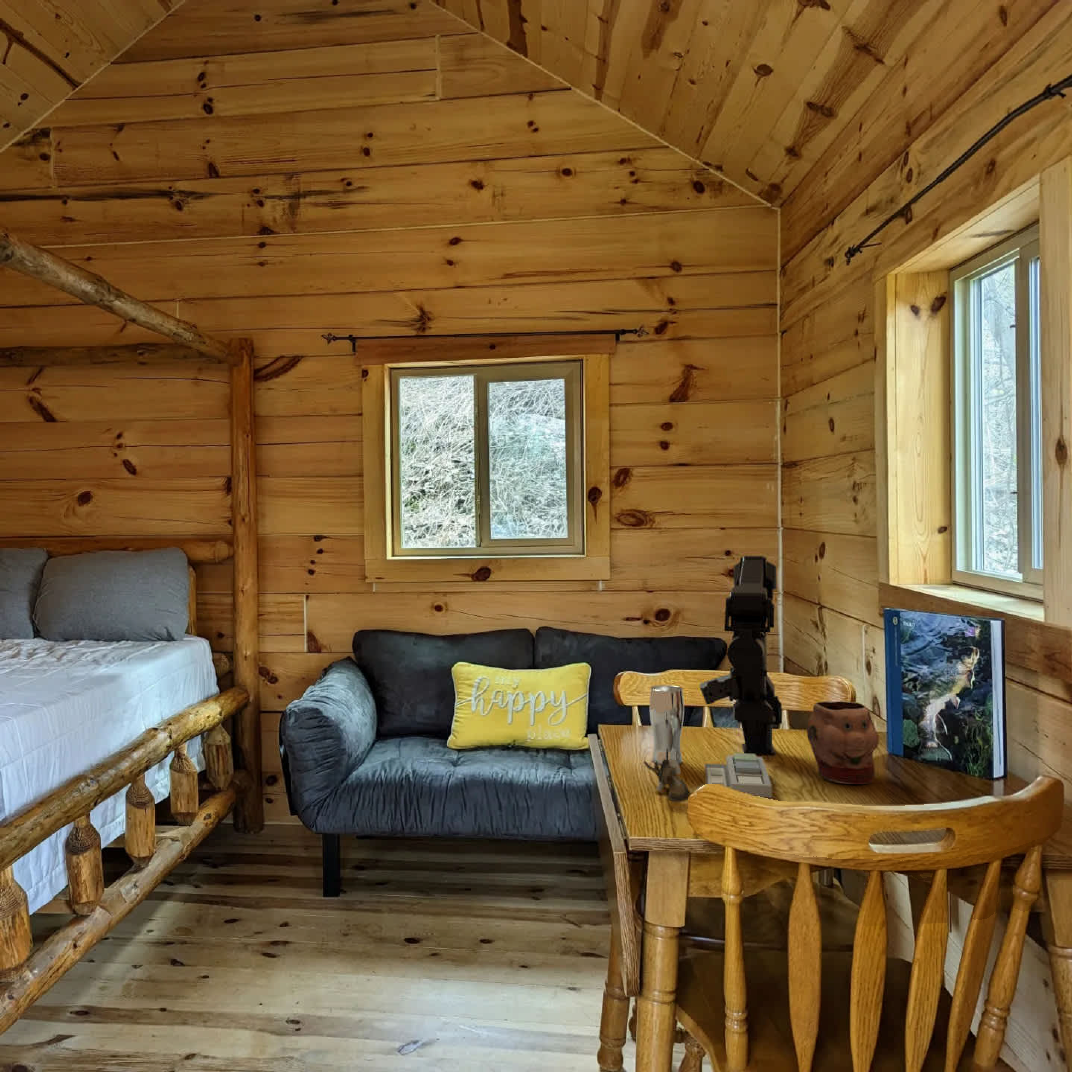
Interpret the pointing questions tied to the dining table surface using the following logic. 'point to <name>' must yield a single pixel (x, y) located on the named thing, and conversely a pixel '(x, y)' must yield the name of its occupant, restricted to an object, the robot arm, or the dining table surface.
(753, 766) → the slate key
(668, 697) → the beer glass
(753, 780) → the ivory key
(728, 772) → the keypad
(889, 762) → the dining table surface
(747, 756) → the sage key
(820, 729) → the decorative planter
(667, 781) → the eagle figurine
